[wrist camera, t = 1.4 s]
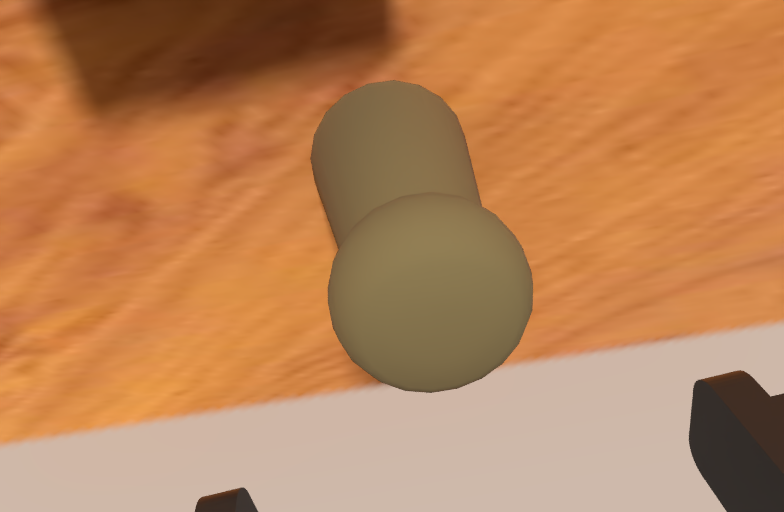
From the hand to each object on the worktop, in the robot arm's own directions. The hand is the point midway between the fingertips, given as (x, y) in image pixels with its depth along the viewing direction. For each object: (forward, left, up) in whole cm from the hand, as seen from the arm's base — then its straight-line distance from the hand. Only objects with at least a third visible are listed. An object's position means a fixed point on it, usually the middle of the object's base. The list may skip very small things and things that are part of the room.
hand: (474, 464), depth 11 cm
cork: (0, 0, -15) cm, 15 cm away
